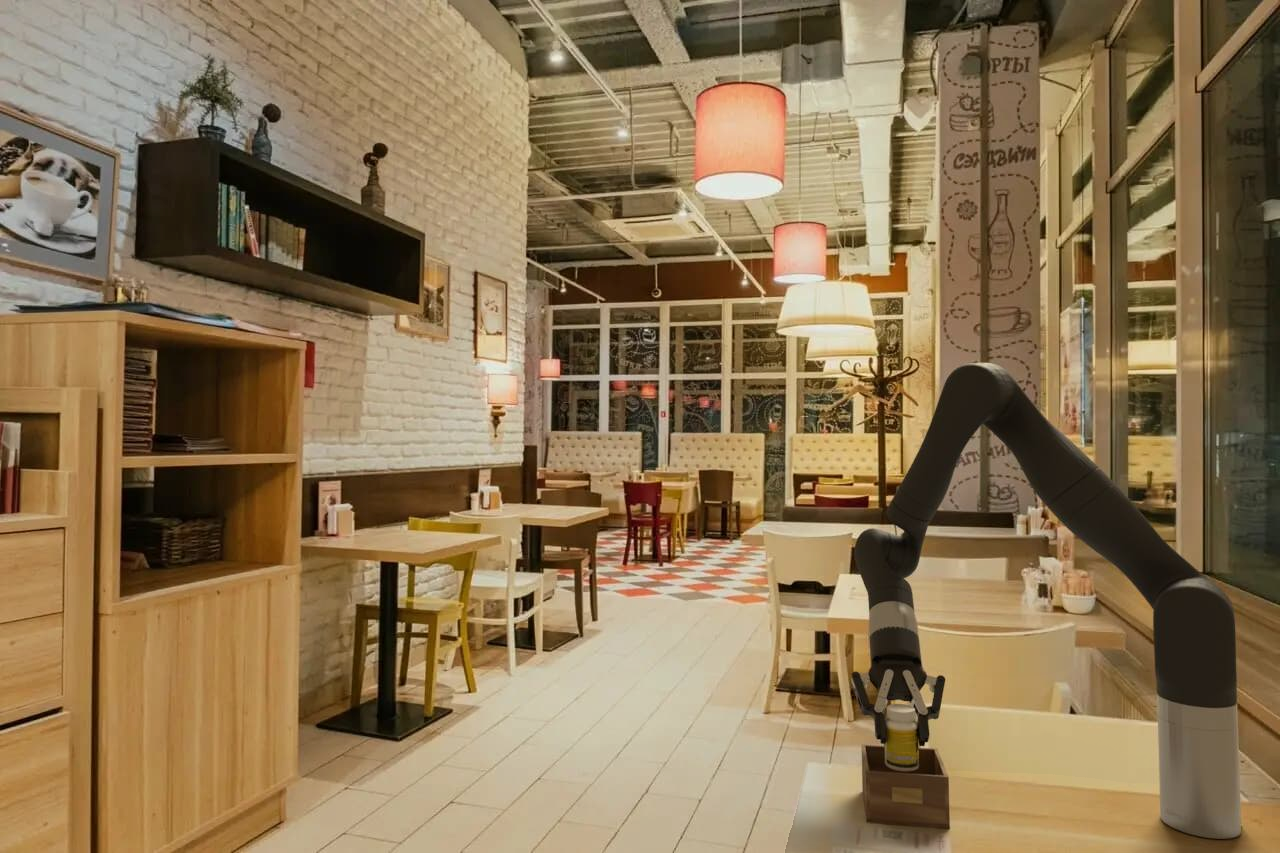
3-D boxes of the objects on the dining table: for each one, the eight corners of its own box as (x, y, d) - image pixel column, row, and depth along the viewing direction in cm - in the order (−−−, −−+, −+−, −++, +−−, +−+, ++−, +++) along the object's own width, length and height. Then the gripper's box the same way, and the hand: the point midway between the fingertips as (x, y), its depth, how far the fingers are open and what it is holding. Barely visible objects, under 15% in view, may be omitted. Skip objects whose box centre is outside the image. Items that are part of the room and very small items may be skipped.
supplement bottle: (923, 772, 120) (922, 713, 120) (890, 772, 120) (889, 713, 120) (913, 759, 125) (912, 702, 125) (881, 759, 125) (880, 702, 125)
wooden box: (862, 790, 129) (861, 744, 129) (938, 795, 126) (937, 748, 127) (866, 823, 118) (865, 772, 118) (949, 829, 116) (948, 777, 116)
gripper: (847, 623, 131) (851, 727, 120) (944, 626, 129) (958, 733, 117) (846, 649, 137) (850, 751, 125) (939, 652, 134) (953, 757, 122)
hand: (902, 742), depth 121 cm, fingers closed on supplement bottle, 4 cm apart
